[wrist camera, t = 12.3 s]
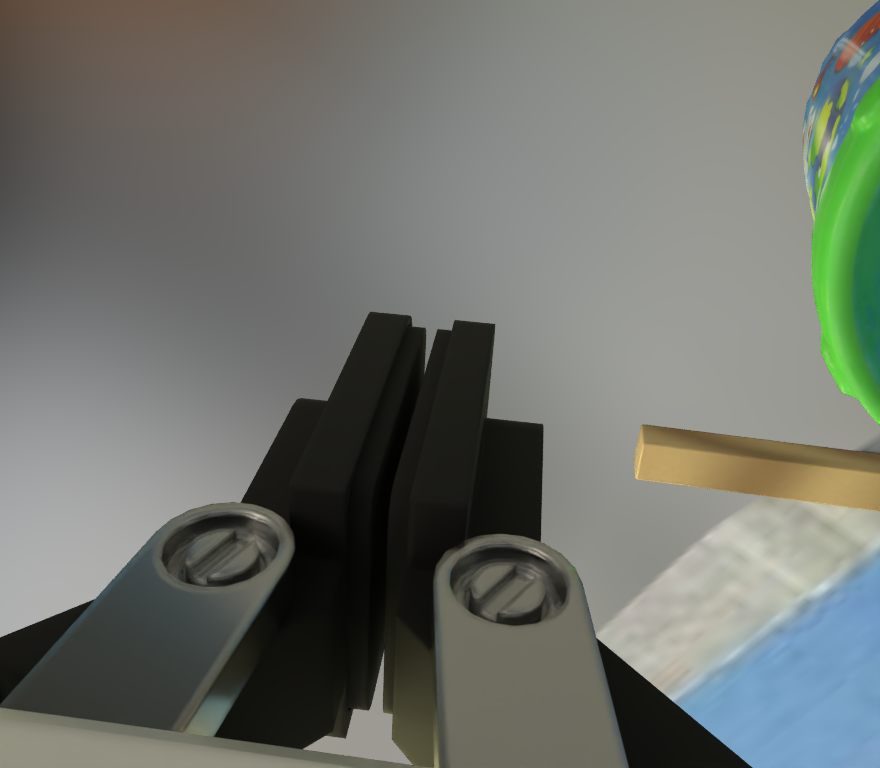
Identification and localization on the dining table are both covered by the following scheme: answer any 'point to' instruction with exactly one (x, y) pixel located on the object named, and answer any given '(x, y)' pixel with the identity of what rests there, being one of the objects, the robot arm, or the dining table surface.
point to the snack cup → (847, 208)
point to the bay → (759, 467)
